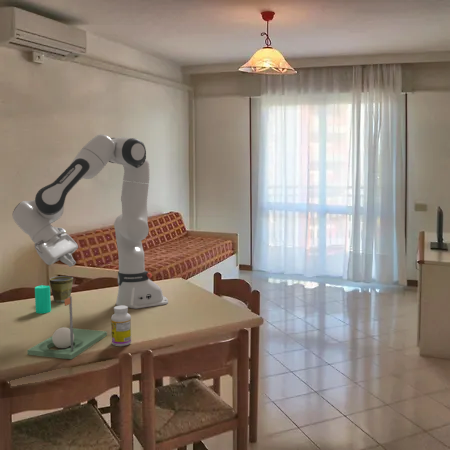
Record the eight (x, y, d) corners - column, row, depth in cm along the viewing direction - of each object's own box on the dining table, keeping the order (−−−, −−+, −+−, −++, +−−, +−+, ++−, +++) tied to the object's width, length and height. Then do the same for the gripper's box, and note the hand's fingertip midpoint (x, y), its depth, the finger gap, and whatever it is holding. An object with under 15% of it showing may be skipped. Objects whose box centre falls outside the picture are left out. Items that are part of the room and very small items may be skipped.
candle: (46, 313, 223) (45, 285, 221) (32, 313, 224) (31, 284, 222) (53, 309, 229) (52, 281, 227) (40, 309, 230) (39, 281, 228)
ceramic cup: (76, 301, 242) (76, 279, 241) (54, 304, 237) (53, 282, 236) (67, 295, 253) (66, 273, 252) (45, 298, 247) (44, 276, 246)
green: (67, 331, 200) (65, 279, 198) (106, 335, 196) (105, 282, 194) (27, 354, 177) (24, 296, 175) (71, 359, 173) (69, 299, 171)
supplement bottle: (113, 340, 191) (112, 304, 189) (132, 340, 191) (131, 304, 190) (110, 347, 184) (109, 310, 183) (130, 346, 185) (129, 309, 183)
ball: (58, 327, 179) (56, 349, 178) (78, 328, 183) (76, 349, 182) (50, 326, 184) (47, 347, 183) (69, 327, 188) (67, 347, 187)
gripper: (37, 238, 192) (65, 266, 192) (65, 227, 212) (90, 252, 212) (27, 250, 194) (54, 278, 194) (55, 238, 213) (80, 263, 214)
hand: (73, 264), depth 203 cm, fingers closed
